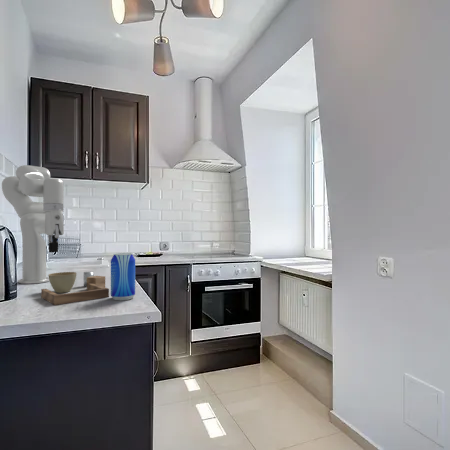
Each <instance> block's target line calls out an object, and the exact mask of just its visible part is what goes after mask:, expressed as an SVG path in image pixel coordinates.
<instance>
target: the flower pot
mask: <svg viewBox="0 0 450 450" xmlns="http://www.w3.org/2000/svg"><path fill="white" fill-rule="evenodd" d="M77 275H78V274H77V272H76V271H75V272H74V271H63V272H62V271H61V272H59V271H58V272H53V273H48V276H47V277H48V278H49V281H48V282H49V283H50V287H52V289H53V292H54V293H56V294H66V293H70V292H71V291H72V288H73V287H74V285H75V282H76V279H77Z"/></svg>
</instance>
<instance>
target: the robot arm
mask: <svg viewBox="0 0 450 450" xmlns="http://www.w3.org/2000/svg"><path fill="white" fill-rule="evenodd" d="M1 190H2V195H3V197H4V198H5V199H6V200H7V202H8V203H9V204H10V205H12V207H13V209H14V211H15V212H16V214H17V216H18V217H19V218H20V220H19V224H20V232H21V238H22V242H21V243H22V248H21V249H22V255H21V256H22V260H21V261H22V263H21V264H22V269H21V270H22V277H21V278H20V279H18V284H24V285H25V284H27V285H28V284H31V285H32V284H40V283H41V284H42V283H47V282H50V281H49V276H47V242H46V240H45V239H44V237H43V236H42V235H44V234H45V235H47V237H48V252H49V253H58V252H59V239H60V236H63V235H64V234H65V231H64V230H65V229H64V215H63V213H64V181H63V180H62V179H59V178H51V172H50V171H49V169H48V168H46V167H43V166H36V165H28V164H25V165H23V164H22V165H20V166H18V167H17V168H16V170H15V175H14V176H6V177H5V178H4V179H3V180H2V181H1ZM31 197H33V198H34V197H36V198H42V199H43V201H42V202H40V201H39V202H37V201H33V200H32V198H31Z"/></svg>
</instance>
